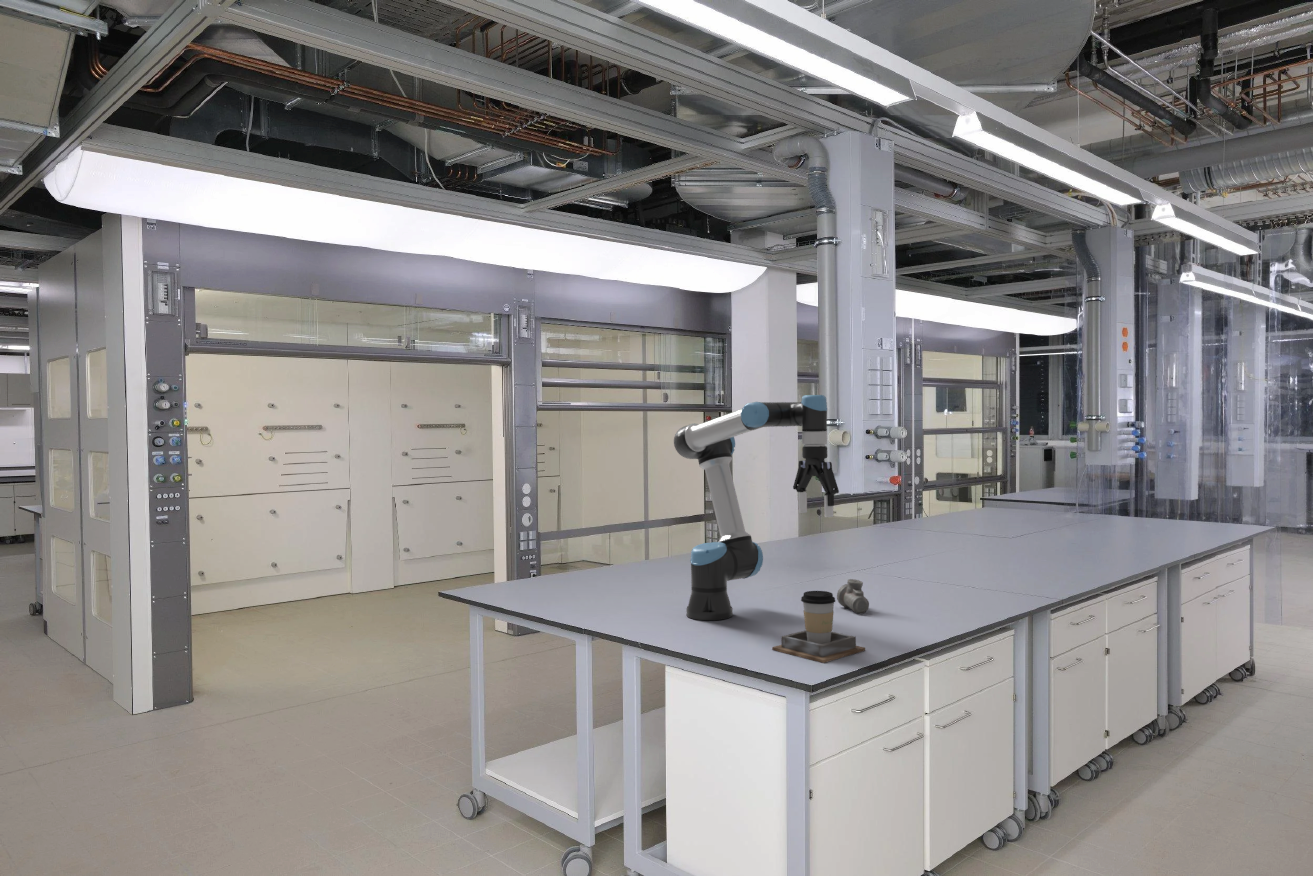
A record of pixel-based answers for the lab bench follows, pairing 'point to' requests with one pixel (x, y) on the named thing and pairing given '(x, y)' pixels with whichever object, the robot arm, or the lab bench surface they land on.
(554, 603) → the lab bench surface
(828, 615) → the coffee cup
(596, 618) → the lab bench surface
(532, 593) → the lab bench surface
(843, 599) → the pipe fitting
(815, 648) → the square rimmed tray
